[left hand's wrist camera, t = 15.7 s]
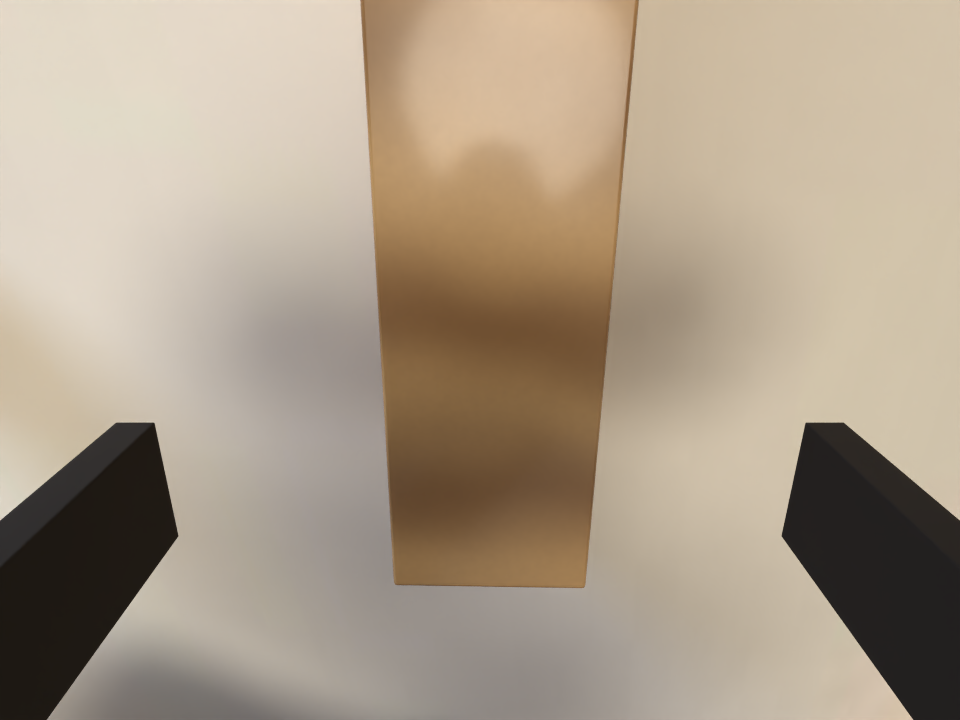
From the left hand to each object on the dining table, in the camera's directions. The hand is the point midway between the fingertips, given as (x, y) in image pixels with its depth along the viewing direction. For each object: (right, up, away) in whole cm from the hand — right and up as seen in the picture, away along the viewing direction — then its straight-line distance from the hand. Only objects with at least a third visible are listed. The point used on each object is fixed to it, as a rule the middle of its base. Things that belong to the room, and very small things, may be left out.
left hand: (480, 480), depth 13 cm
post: (+1, +22, +4) cm, 23 cm away
